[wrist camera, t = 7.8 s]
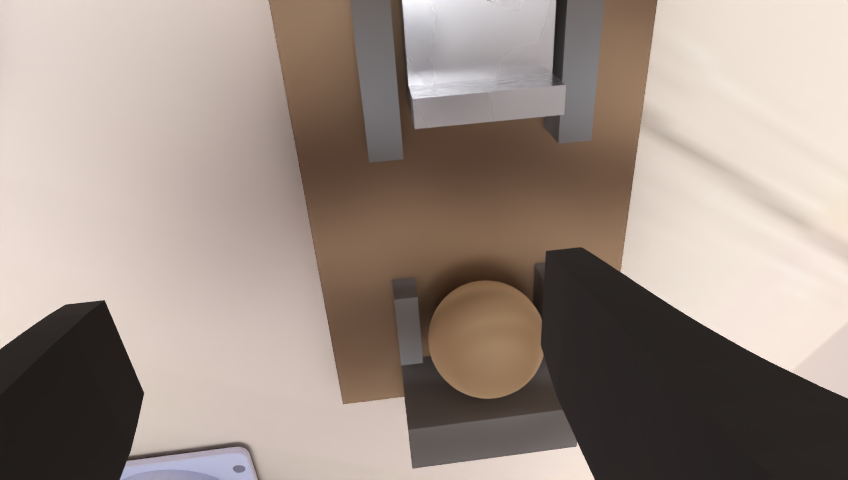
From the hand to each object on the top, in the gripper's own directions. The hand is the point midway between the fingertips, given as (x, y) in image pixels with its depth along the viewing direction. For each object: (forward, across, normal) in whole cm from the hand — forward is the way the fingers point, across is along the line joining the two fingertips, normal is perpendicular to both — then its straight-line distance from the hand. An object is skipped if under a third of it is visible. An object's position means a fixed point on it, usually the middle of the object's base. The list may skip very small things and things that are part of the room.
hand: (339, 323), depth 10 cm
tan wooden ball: (+9, -4, +7) cm, 12 cm away
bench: (+10, -4, +2) cm, 11 cm away
